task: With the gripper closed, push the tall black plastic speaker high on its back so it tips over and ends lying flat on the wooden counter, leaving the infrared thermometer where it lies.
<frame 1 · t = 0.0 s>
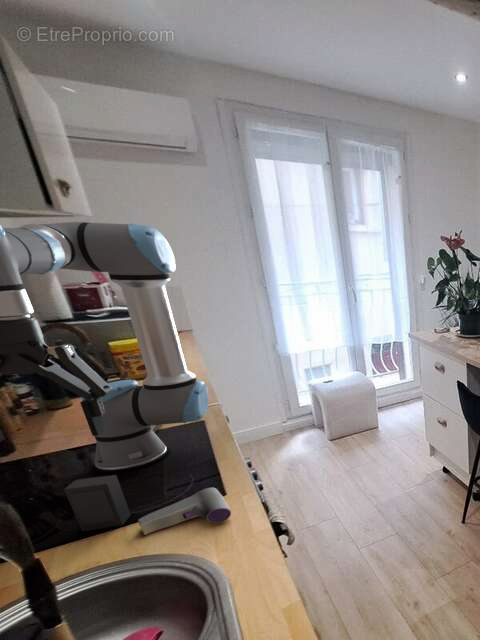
hand: (49, 437, 72), 28 cm above the counter, tool pointing down, fingers open, 13 cm apart
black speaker: (107, 523, 93), on the counter
infrared thermometer: (189, 524, 94), on the counter
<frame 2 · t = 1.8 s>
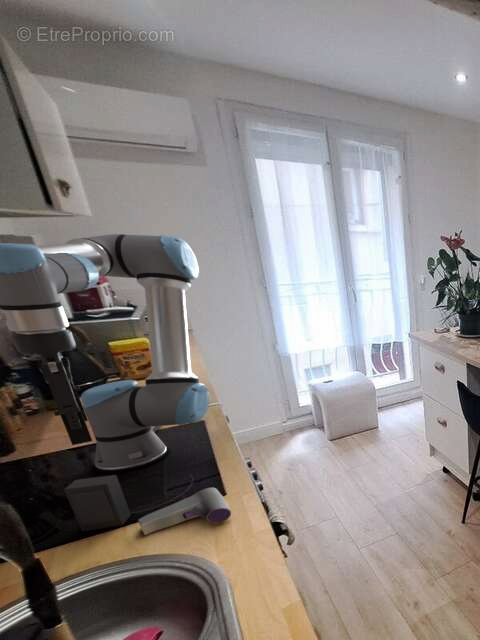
hand: (80, 431, 85), 23 cm above the counter, tool pointing down, fingers open, 13 cm apart
nothing on the counter moved.
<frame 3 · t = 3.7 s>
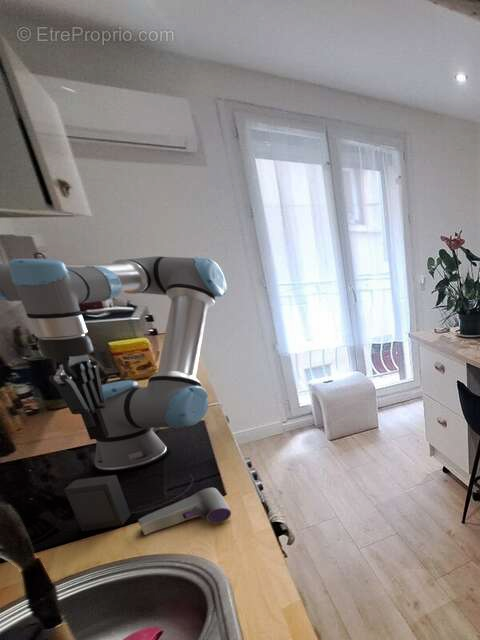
hand: (99, 437, 94), 18 cm above the counter, tool pointing down, fingers closed
nothing on the counter moved.
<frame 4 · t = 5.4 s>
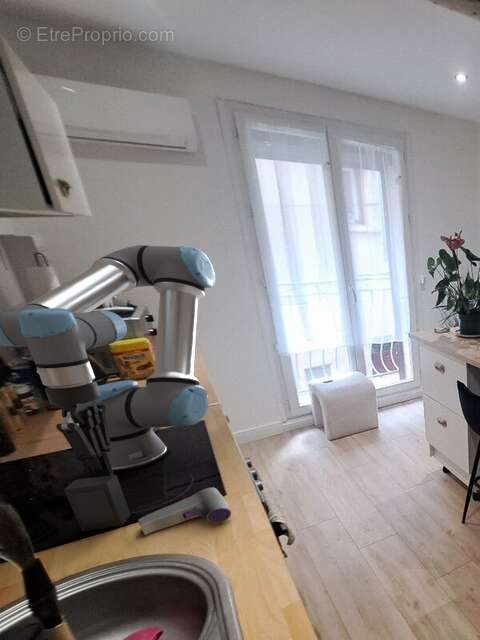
hand: (105, 479, 95), 9 cm above the counter, tool pointing down, fingers closed
nothing on the counter moved.
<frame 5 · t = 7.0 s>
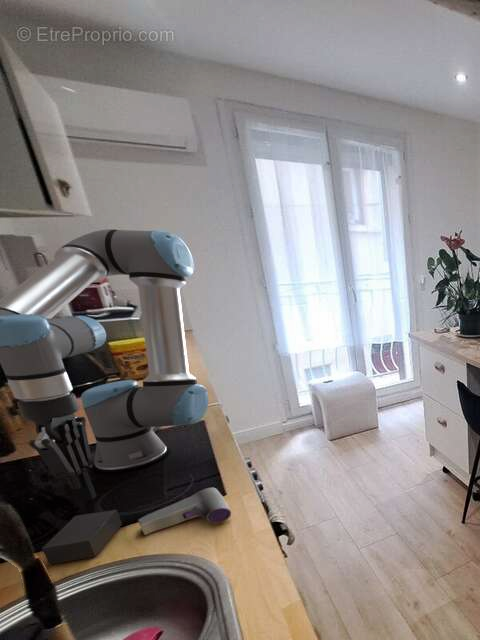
hand: (86, 498, 88), 9 cm above the counter, tool pointing down, fingers closed
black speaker: (99, 520, 91), point 2 cm above the counter, tilted 90°
everything else where it was.
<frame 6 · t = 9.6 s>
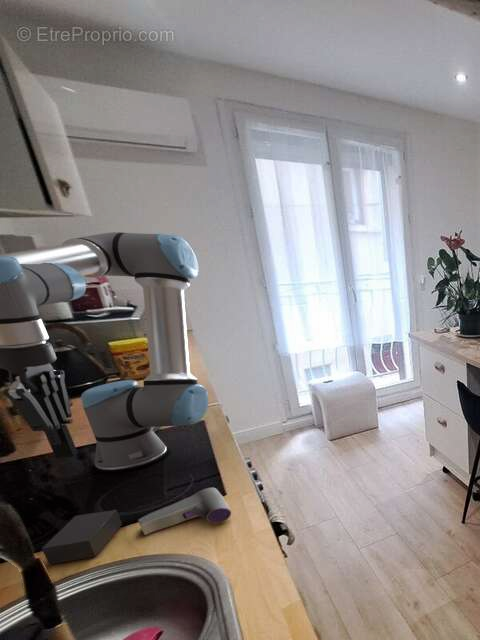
hand: (67, 455, 84), 19 cm above the counter, tool pointing down, fingers closed
nothing on the counter moved.
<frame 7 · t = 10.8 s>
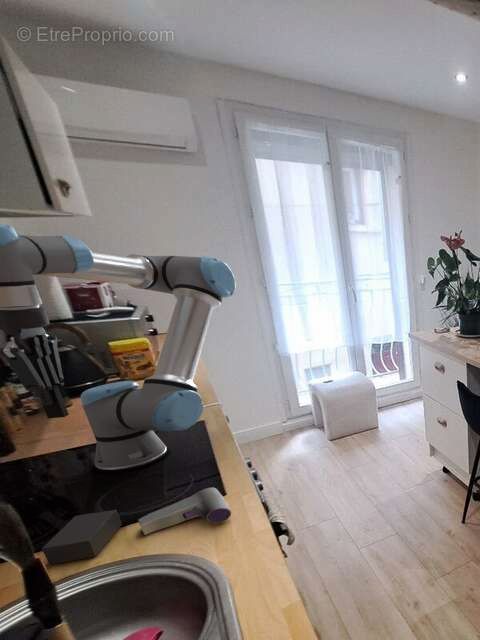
hand: (58, 416, 89), 24 cm above the counter, tool pointing down, fingers closed
nothing on the counter moved.
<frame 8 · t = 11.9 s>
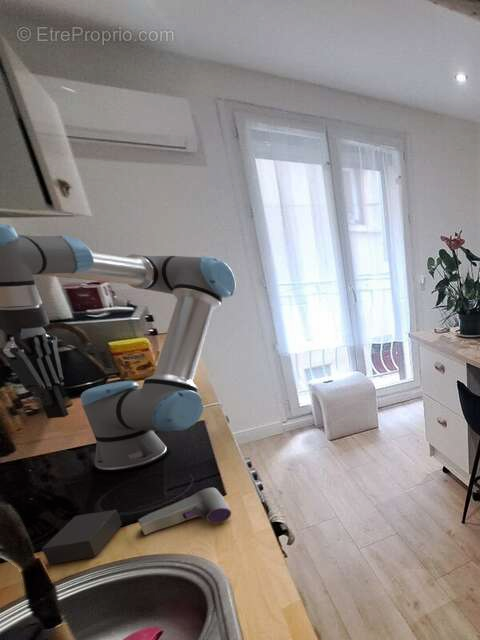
hand: (58, 416, 89), 24 cm above the counter, tool pointing down, fingers closed
nothing on the counter moved.
at the end: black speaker tilted 90°; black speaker inside the target area (3.5 cm from its centre), point 2.3 cm above the counter; infrared thermometer moved 0.2 cm from its start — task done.
